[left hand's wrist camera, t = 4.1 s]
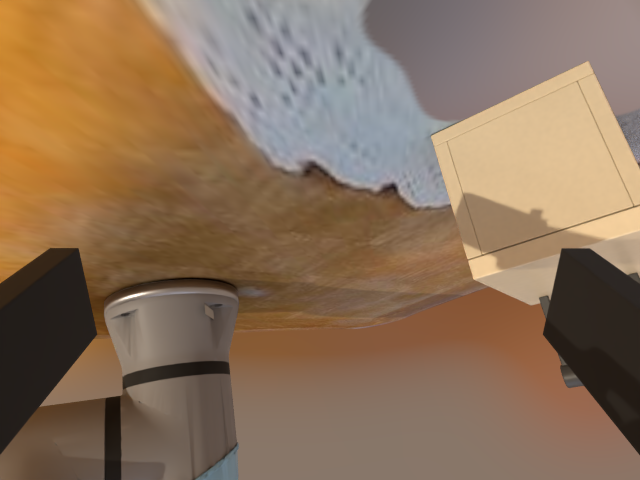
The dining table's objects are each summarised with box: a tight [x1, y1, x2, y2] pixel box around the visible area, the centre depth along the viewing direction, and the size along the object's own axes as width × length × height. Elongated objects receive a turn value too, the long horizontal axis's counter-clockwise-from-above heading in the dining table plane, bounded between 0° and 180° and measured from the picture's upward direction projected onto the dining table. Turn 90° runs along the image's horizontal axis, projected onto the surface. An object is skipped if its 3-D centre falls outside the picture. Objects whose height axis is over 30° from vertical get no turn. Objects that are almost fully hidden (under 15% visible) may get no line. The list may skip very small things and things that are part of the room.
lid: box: [468, 206, 640, 388], centre depth 30 cm, size 17×10×8 cm, turn 35°
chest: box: [431, 61, 640, 260], centre depth 33 cm, size 17×10×9 cm, turn 35°
